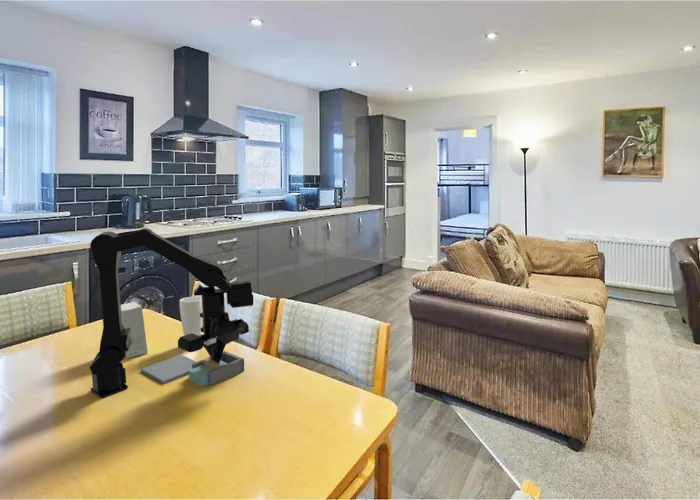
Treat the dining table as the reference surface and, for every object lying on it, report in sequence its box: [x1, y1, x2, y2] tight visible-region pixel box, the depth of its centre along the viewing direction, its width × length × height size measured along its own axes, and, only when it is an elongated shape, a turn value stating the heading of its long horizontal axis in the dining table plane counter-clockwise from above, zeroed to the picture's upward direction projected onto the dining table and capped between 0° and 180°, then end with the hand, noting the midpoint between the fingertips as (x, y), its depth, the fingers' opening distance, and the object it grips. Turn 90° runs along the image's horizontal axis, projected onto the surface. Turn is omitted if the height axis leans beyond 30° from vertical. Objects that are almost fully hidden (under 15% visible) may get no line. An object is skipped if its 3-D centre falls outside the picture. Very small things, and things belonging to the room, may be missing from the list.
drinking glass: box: [179, 296, 203, 336], centre depth 136 cm, size 7×7×15 cm
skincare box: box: [121, 301, 149, 359], centre depth 130 cm, size 8×6×15 cm
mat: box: [140, 354, 197, 385], centre depth 119 cm, size 12×12×1 cm
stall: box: [192, 350, 245, 386], centre depth 117 cm, size 11×9×4 cm
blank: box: [188, 357, 228, 387], centre depth 114 cm, size 9×6×4 cm, turn 142°
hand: (216, 364), depth 116 cm, fingers closed
